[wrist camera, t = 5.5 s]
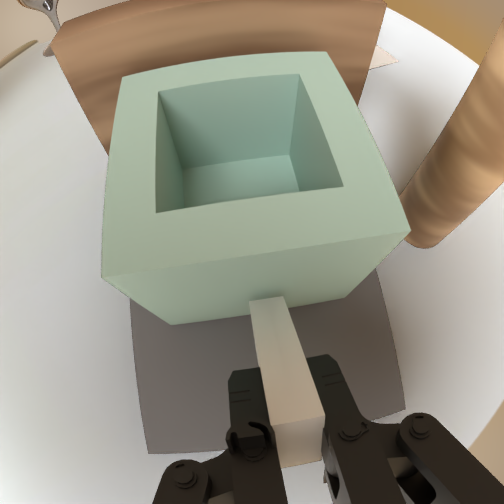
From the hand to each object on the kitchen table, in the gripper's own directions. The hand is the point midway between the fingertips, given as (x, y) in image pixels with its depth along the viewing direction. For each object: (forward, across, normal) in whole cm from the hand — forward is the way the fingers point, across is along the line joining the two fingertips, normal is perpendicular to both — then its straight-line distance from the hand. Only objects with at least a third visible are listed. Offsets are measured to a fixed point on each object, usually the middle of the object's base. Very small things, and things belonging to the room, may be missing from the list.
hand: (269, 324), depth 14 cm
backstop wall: (+12, 0, +6) cm, 14 cm away
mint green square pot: (+8, 0, +1) cm, 8 cm away
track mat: (+5, 0, -1) cm, 5 cm away
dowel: (+7, +12, +1) cm, 14 cm away
